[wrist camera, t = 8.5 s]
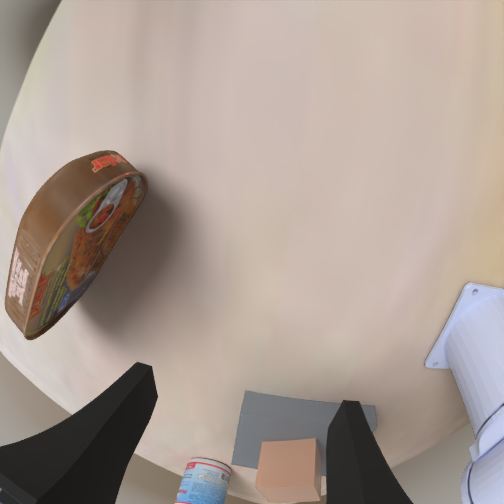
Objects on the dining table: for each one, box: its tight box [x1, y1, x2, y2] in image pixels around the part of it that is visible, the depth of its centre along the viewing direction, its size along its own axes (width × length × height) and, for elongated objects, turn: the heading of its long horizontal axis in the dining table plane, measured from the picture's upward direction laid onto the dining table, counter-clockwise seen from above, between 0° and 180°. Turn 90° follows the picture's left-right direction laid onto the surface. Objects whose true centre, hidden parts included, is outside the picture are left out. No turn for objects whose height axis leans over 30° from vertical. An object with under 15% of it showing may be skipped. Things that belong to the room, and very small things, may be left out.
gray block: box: [232, 390, 377, 476], centre depth 26 cm, size 12×12×3 cm
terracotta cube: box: [255, 438, 322, 502], centre depth 22 cm, size 5×5×5 cm
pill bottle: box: [175, 458, 231, 504], centre depth 29 cm, size 6×6×11 cm
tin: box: [5, 150, 147, 340], centre depth 16 cm, size 15×3×8 cm, turn 138°
